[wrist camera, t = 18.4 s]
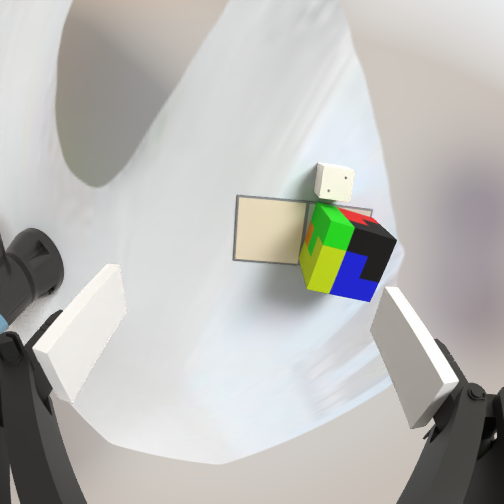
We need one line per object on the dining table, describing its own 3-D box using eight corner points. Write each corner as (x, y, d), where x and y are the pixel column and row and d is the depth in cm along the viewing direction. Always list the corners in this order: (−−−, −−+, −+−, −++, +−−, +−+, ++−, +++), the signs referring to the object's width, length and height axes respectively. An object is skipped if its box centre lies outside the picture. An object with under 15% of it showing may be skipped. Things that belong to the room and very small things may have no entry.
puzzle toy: (352, 270, 49) (369, 302, 40) (298, 258, 48) (306, 289, 39) (372, 217, 45) (397, 240, 36) (316, 201, 44) (331, 220, 35)
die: (313, 191, 44) (319, 198, 40) (317, 162, 42) (323, 166, 38) (341, 195, 44) (349, 202, 40) (346, 166, 42) (355, 170, 38)
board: (233, 259, 49) (233, 260, 49) (237, 194, 45) (237, 195, 44) (359, 269, 49) (359, 270, 49) (372, 209, 45) (373, 209, 44)
